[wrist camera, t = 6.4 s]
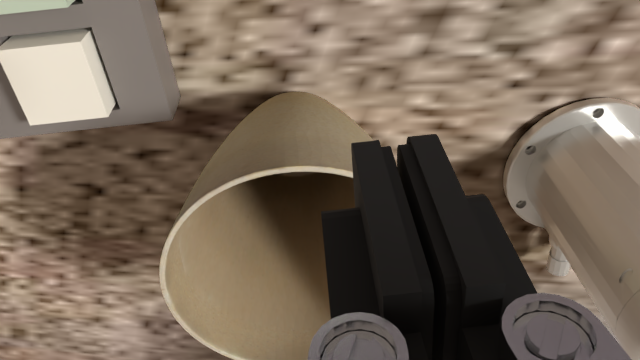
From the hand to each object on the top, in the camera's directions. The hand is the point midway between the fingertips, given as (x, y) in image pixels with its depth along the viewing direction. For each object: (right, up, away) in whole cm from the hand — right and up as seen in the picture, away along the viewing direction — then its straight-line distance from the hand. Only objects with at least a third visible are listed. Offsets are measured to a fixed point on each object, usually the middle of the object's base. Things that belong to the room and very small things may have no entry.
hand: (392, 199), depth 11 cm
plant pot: (-3, +4, +30) cm, 31 cm away
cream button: (-18, +8, +23) cm, 30 cm away
